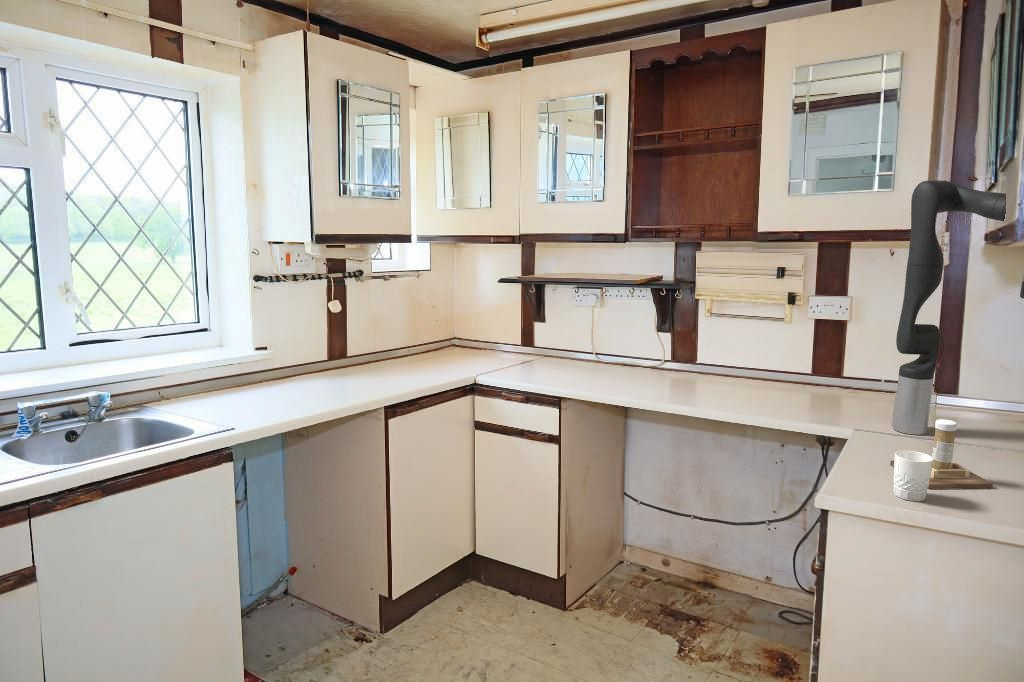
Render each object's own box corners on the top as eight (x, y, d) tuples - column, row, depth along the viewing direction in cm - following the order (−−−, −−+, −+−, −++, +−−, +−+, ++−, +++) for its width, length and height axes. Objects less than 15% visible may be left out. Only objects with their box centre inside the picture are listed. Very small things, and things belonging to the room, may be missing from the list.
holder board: (890, 465, 183) (891, 453, 182) (949, 464, 183) (950, 453, 183) (927, 488, 167) (929, 476, 166) (992, 488, 167) (993, 475, 167)
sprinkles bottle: (932, 467, 178) (938, 417, 175) (952, 471, 175) (959, 421, 172) (927, 472, 174) (933, 421, 172) (948, 476, 171) (954, 425, 169)
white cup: (882, 491, 166) (887, 451, 164) (910, 488, 168) (914, 449, 166) (908, 504, 158) (912, 463, 156) (936, 501, 160) (941, 460, 158)
